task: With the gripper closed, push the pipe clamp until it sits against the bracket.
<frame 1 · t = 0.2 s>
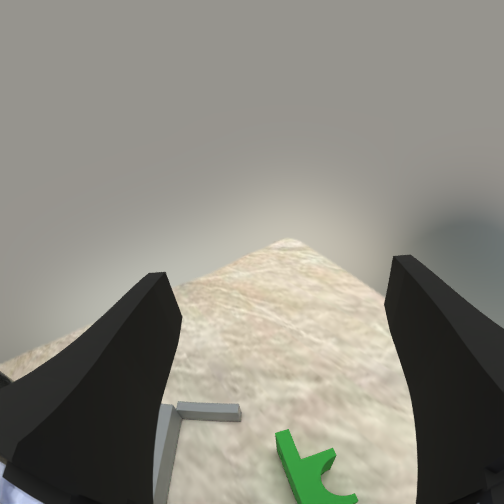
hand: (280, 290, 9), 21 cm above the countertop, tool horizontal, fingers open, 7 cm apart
pipe clamp: (315, 495, 19), on the countertop
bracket: (139, 482, 20), on the countertop
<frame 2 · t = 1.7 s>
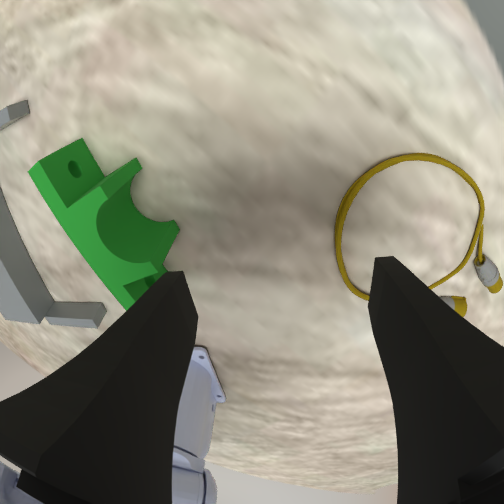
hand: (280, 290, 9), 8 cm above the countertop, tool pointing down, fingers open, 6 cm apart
extension cord: (423, 249, 19), on the countertop
pipe clamp: (136, 206, 18), on the countertop
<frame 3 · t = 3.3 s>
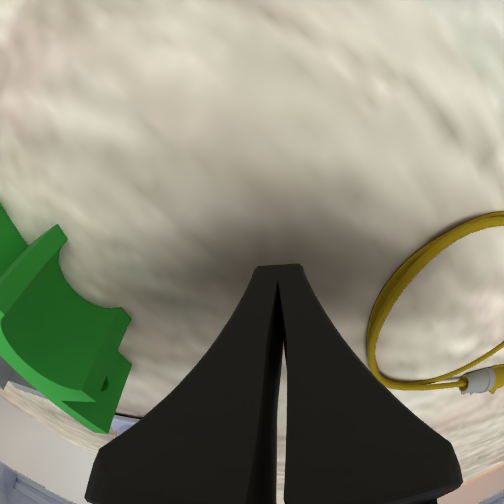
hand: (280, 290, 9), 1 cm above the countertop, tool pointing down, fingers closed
extension cord: (473, 324, 12), on the countertop
pipe clamp: (73, 283, 12), on the countertop
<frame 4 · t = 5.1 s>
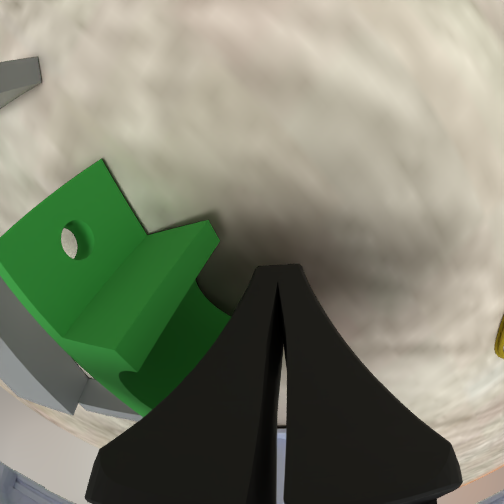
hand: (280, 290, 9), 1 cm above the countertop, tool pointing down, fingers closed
pipe clamp: (201, 289, 11), on the countertop
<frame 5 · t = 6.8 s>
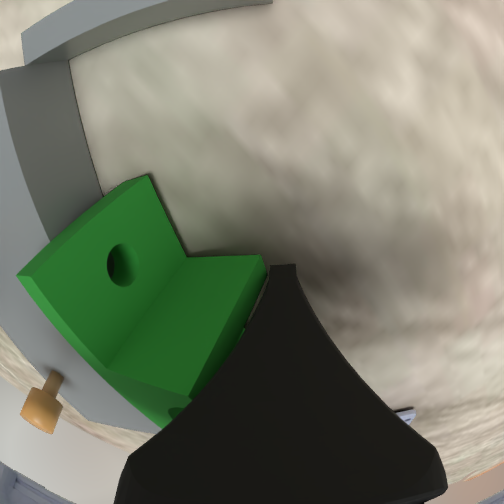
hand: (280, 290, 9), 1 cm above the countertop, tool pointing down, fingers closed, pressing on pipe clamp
pipe clamp: (233, 311, 11), on the countertop, touching gripper, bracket
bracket: (75, 279, 11), on the countertop
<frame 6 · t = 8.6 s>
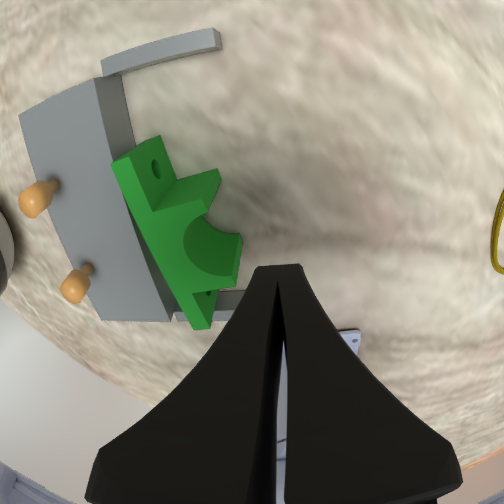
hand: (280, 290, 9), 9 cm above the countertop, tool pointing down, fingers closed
pipe clamp: (202, 213, 19), on the countertop
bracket: (110, 203, 18), on the countertop
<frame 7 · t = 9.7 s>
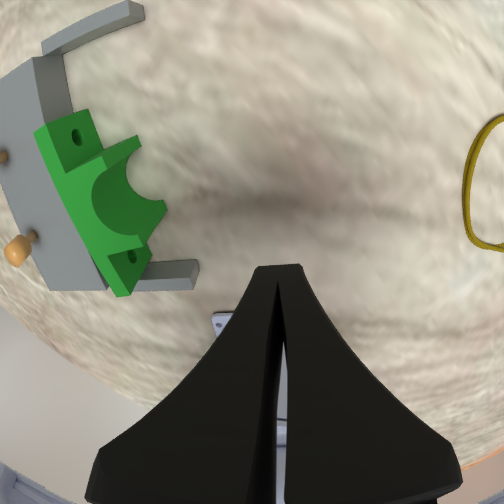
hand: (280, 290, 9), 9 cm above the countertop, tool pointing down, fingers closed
pipe clamp: (129, 181, 18), on the countertop
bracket: (56, 174, 17), on the countertop
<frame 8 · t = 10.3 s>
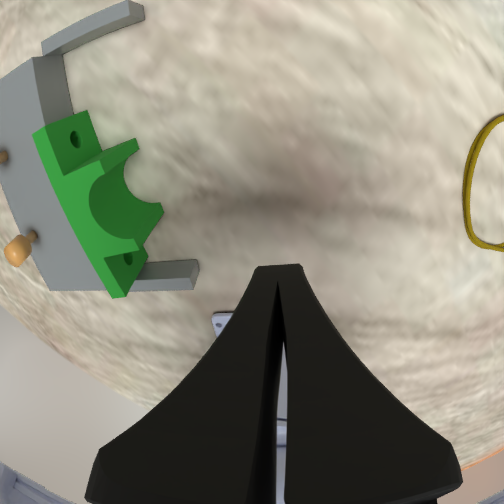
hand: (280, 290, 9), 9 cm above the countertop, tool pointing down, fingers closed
pipe clamp: (126, 183, 18), on the countertop
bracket: (56, 174, 17), on the countertop
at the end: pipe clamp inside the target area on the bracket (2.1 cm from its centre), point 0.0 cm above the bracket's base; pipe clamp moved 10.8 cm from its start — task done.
